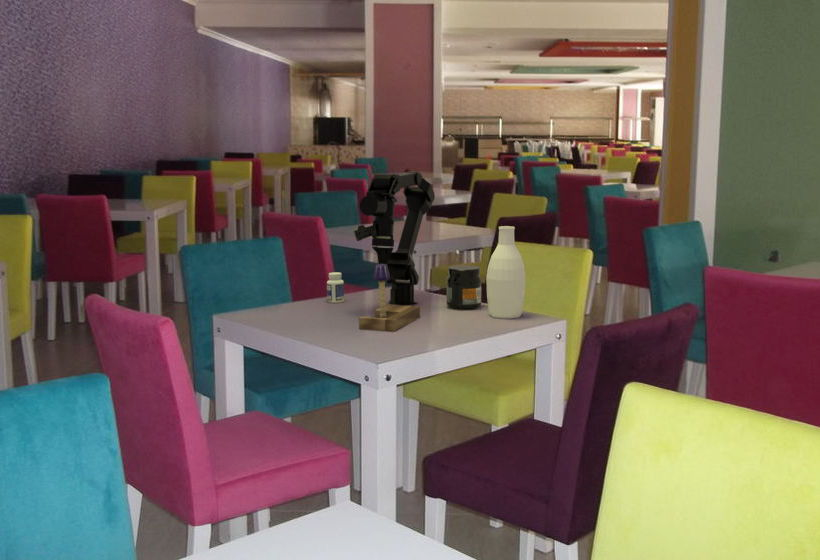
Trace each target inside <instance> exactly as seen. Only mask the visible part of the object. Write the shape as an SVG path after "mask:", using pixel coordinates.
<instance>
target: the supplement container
mask: <svg viewBox="0 0 820 560" xmlns="http://www.w3.org/2000/svg"><path fill="white" fill-rule="evenodd" d="M447 270H448V271H447V274H448V276H447V277H446V306H447V307H448V308H449V309H451V308H452V309H451V310H456V309H457V311H458V310H459V311H464V310H465V311H469V310H477V309H479V308H480V307H481V306H482V281H483V280H482V277H481V276H480V275H481V268H480V267H479V266H476V265H464V264H463V265H451V266H448V268H447Z"/></svg>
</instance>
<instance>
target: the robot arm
mask: <svg viewBox="0 0 820 560" xmlns="http://www.w3.org/2000/svg"><path fill="white" fill-rule="evenodd" d="M401 188H403V195H404V197H405V203H406V207H407V209H408V210H407V213H406V218H405V221H404V225H403V229H402V230H401V231H402V232H401V236H400V238H399V242H398V246H397V249H396V251H395V252H393V250H394V247H395V239H394V227H395V226H394V224H395V203H397V202H398V200H397V198H396V197H395V195H396V194H398V193H399V192H400V191H401ZM366 190H367V191H366V193H365V196H364V197H362V198H361V200H360V202H359V209H360V210H359V211H360V212H361V213H362V214H363V216H367V217H368V216H369V217H373V221H372V225H369V226H365V225H364V224H361V225H358V226H357V229H356V230H353V233H354V237H355V239H356V242H359V241H362V240H364V239H367V238H371V246H372V247H371V248H372V249H373V251H375V252H376V254H377V261H378V262H377V263H378V264H386V265H387V268H388V271H389V275H390V279H389V280H386V284H387V285H389V284H390V285H391V288H390V289H389V290H390V292H389V294H390V297H389V298H390V300H389V301H388V304H390V305H404V306H411V305H416V304H418V302H417V301H415V286H416V285H419V281H420V280H419V279H420V276H419V273H418V272H417V270H416V268H415V267H416V264H415V259H414V257H413V256H414V255H413V254H414V252H415V251H414V250H415V247H416V243H417V239H418V235H419V232H420V228H421V225H422V220H423V218H424V216H425V214H426V213H428V212H429V210H431V207H432V206H433V202H435V201H434V200H435V197H436V196H435V191H434V188H433V187H432V184H431V183H430V182H429V181H427V180H426V179H425V178H424V177H423V175H422V174H421V172H418V171H406V172H402V173H398V174H397V173H375V174H374V175H373V177H372V178H371V181H370V183H369V186H368V188H367V189H366Z"/></svg>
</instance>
